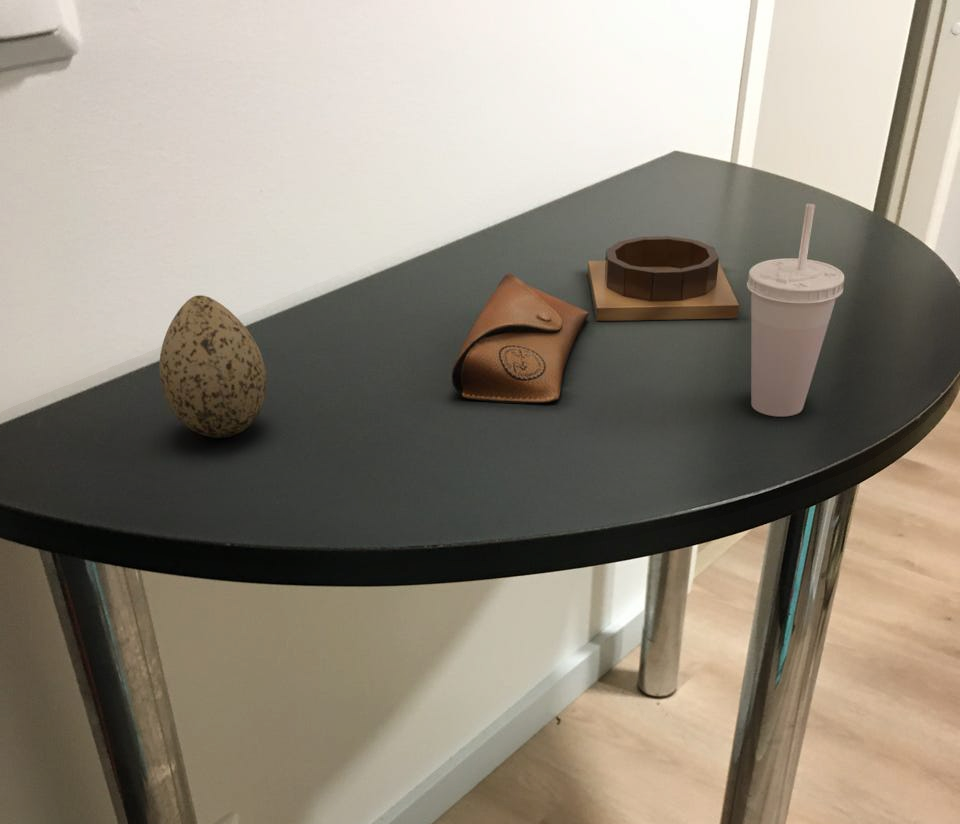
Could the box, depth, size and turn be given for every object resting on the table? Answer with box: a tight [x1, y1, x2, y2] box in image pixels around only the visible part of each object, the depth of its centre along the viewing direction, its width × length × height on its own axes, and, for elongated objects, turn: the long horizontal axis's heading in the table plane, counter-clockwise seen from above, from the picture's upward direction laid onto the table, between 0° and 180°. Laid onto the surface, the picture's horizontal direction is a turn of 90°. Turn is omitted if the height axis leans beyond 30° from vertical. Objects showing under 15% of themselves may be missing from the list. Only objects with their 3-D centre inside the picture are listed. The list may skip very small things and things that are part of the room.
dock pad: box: [587, 235, 740, 322], centre depth 98 cm, size 12×12×4 cm
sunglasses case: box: [451, 272, 590, 404], centre depth 88 cm, size 18×7×7 cm
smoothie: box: [746, 203, 845, 418], centre depth 76 cm, size 6×6×14 cm
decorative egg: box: [158, 294, 268, 439], centre depth 76 cm, size 7×7×10 cm
